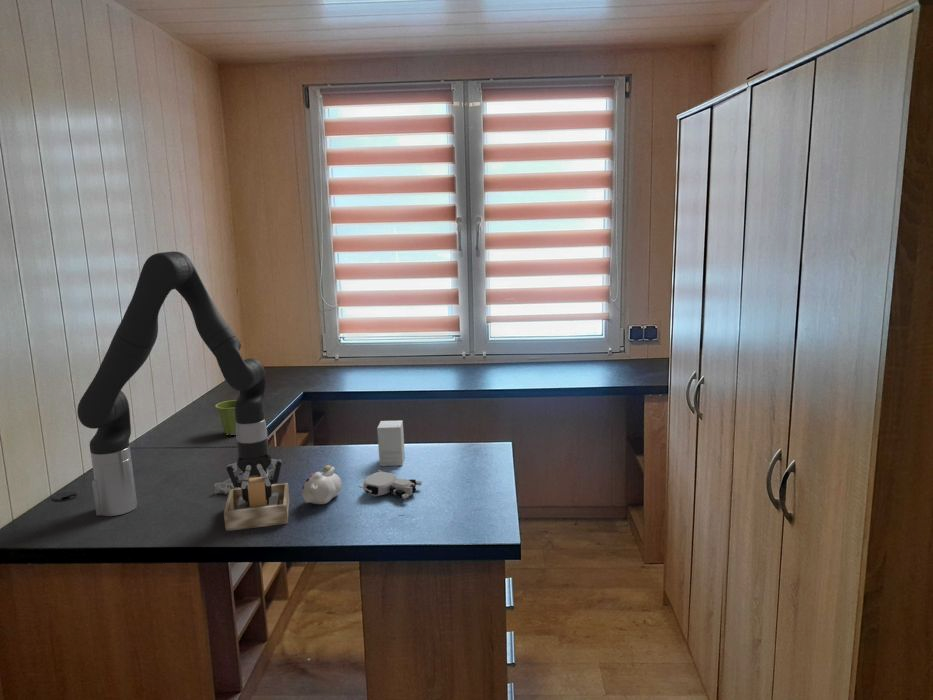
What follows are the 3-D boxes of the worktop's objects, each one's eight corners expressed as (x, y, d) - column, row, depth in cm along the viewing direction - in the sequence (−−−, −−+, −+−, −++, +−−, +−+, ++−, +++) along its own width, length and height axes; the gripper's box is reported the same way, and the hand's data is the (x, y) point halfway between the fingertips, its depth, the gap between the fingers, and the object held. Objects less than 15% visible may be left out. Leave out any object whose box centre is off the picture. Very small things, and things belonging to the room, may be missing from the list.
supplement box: (405, 457, 214) (403, 419, 212) (402, 466, 207) (400, 427, 204) (382, 458, 214) (380, 420, 212) (378, 466, 207) (376, 427, 205)
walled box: (225, 531, 166) (223, 512, 165) (232, 506, 180) (230, 489, 179) (287, 523, 169) (286, 505, 168) (289, 500, 184) (288, 482, 183)
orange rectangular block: (250, 516, 172) (248, 483, 171) (251, 510, 176) (249, 477, 175) (266, 515, 173) (264, 482, 172) (267, 508, 177) (265, 476, 175)
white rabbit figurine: (332, 457, 189) (305, 470, 175) (354, 473, 188) (330, 488, 173) (316, 484, 191) (289, 499, 177) (339, 500, 190) (313, 517, 175)
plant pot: (259, 431, 245) (256, 401, 243) (232, 440, 235) (229, 410, 233) (237, 426, 251) (235, 397, 249) (211, 435, 241) (208, 405, 239)
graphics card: (249, 488, 185) (213, 483, 188) (250, 501, 186) (214, 495, 189) (283, 467, 201) (249, 462, 204) (284, 479, 201) (250, 474, 205)
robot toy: (424, 491, 190) (376, 481, 195) (424, 476, 189) (376, 467, 194) (406, 508, 179) (356, 498, 183) (406, 493, 178) (356, 483, 182)
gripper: (220, 444, 166) (227, 508, 169) (280, 439, 169) (285, 502, 172) (224, 435, 173) (230, 497, 176) (281, 430, 176) (286, 491, 179)
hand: (257, 499), depth 174 cm, fingers open, 4 cm apart
